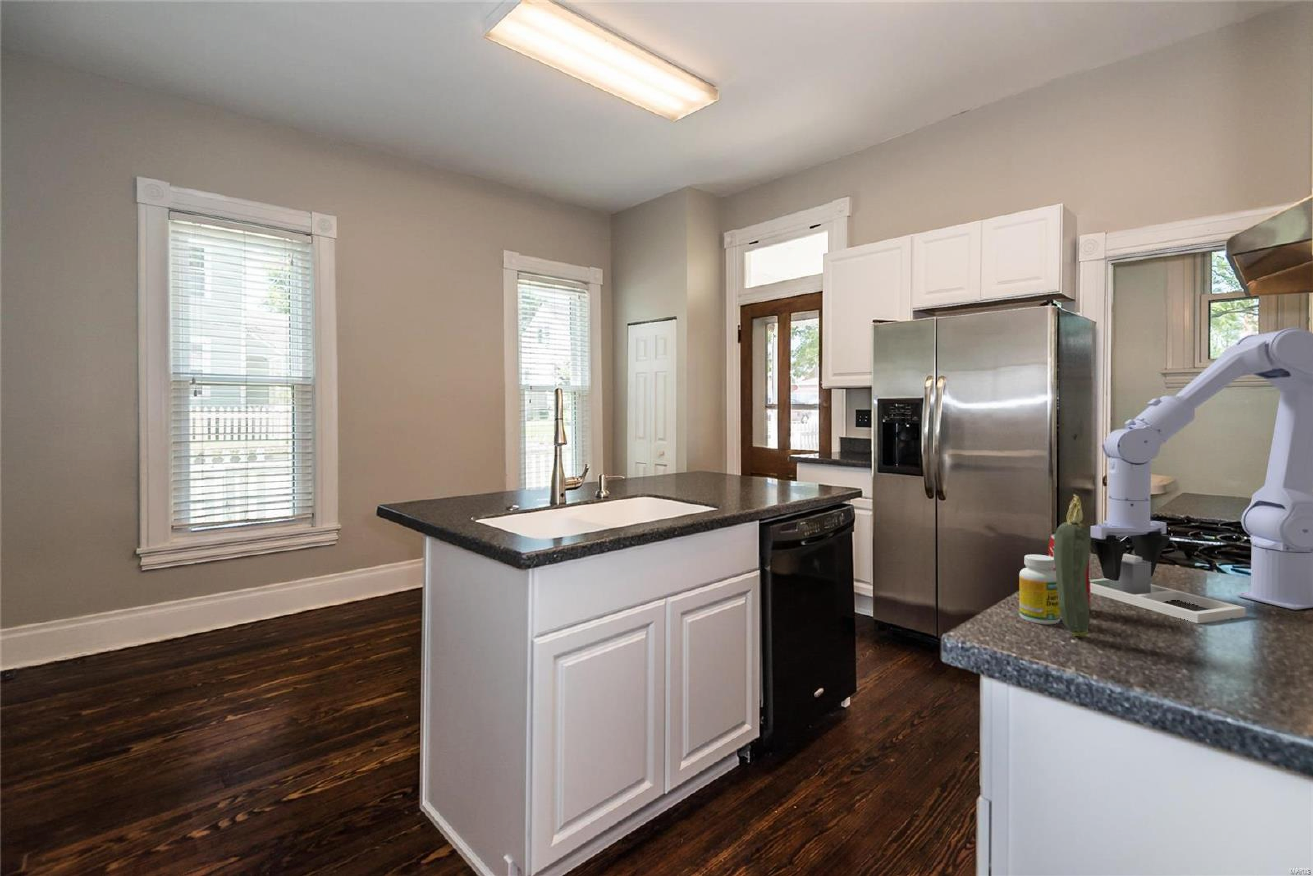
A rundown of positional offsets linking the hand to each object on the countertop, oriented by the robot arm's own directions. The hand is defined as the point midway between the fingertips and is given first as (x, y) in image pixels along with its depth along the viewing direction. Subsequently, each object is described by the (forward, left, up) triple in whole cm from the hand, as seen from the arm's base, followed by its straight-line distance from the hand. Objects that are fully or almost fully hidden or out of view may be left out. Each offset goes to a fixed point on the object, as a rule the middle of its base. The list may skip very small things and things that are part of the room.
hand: (1128, 577), depth 105 cm
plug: (0, 0, -3) cm, 3 cm away
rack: (0, +4, -3) cm, 5 cm away
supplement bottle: (+25, +6, -3) cm, 26 cm away
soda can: (+17, +4, -3) cm, 18 cm away
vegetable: (+27, +12, -3) cm, 30 cm away
